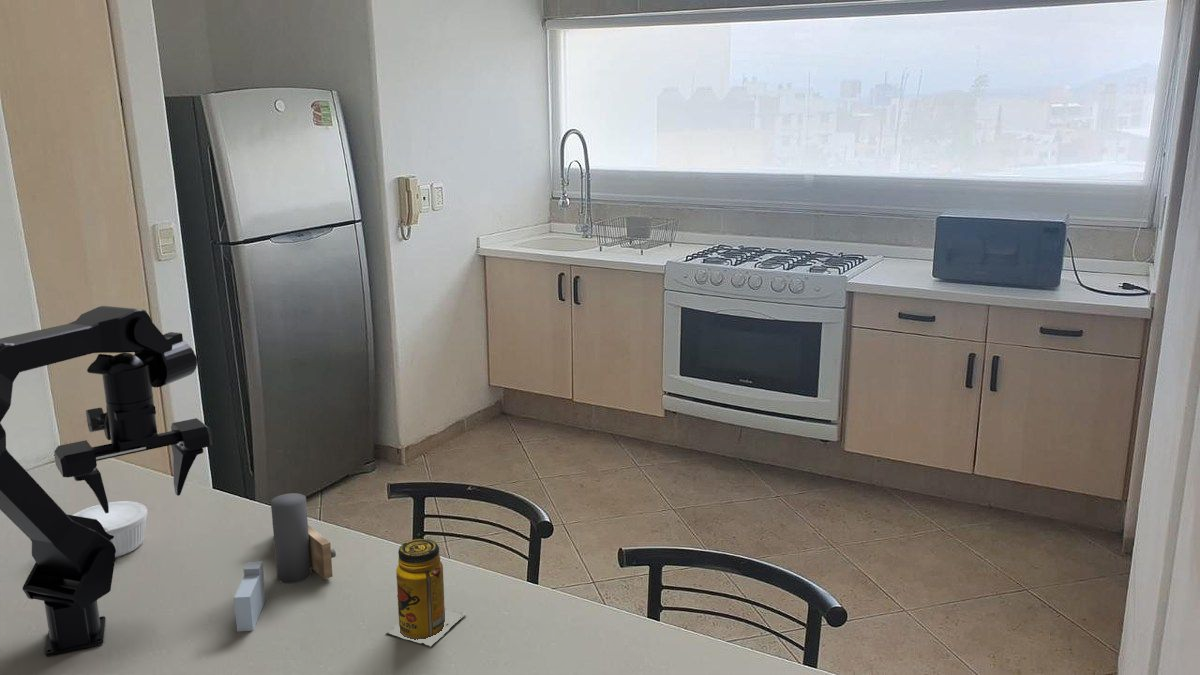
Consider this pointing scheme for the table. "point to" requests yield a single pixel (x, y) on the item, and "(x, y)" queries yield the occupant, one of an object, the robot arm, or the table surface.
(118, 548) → the ramekin
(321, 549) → the door
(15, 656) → the table surface
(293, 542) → the gray cylinder
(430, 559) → the condiment
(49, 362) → the robot arm
